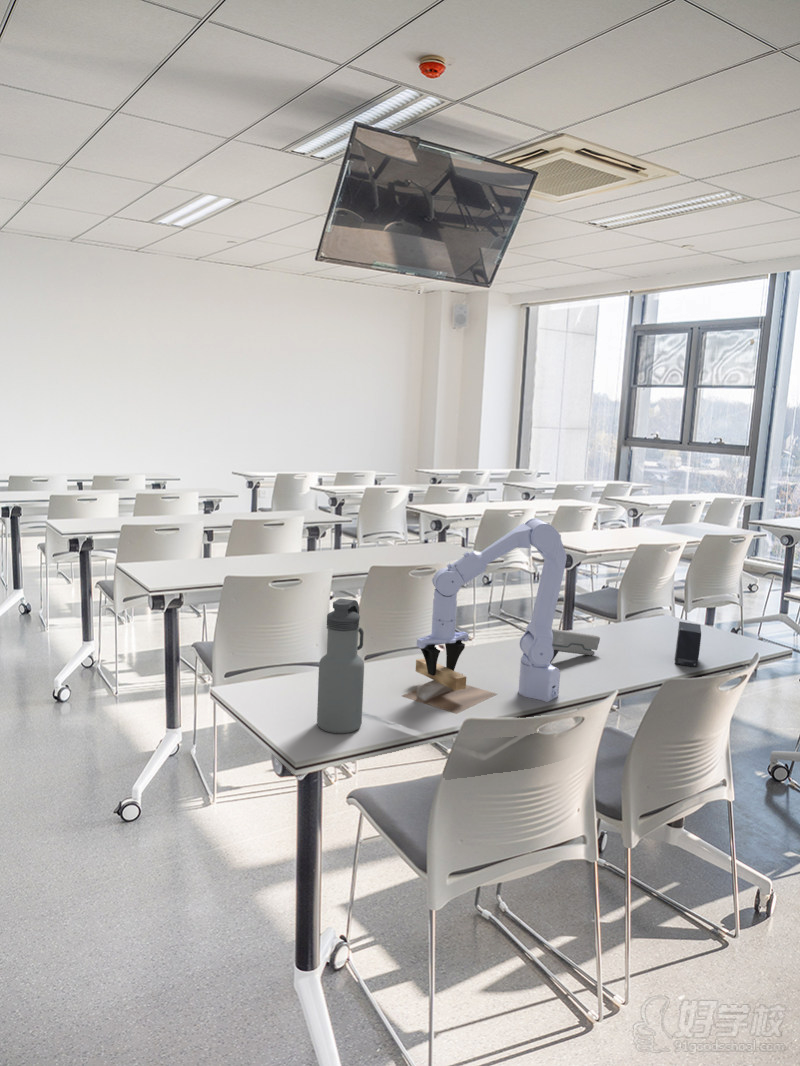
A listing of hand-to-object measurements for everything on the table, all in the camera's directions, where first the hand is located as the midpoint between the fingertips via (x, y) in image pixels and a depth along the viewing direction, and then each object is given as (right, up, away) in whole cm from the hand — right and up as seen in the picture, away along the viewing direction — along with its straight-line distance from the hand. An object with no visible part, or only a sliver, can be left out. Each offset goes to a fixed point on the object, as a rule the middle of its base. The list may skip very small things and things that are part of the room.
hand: (440, 672), depth 198 cm
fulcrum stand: (+2, -6, -1) cm, 7 cm away
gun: (+38, -3, +36) cm, 52 cm away
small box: (+74, -4, +40) cm, 84 cm away
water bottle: (-23, -8, -20) cm, 32 cm away
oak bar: (0, -2, +1) cm, 2 cm away
